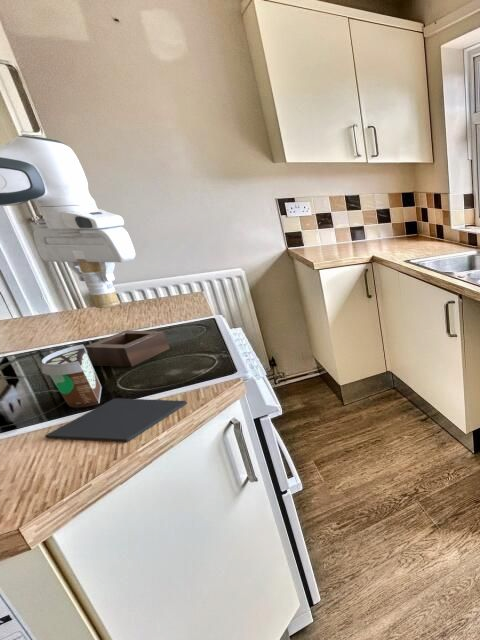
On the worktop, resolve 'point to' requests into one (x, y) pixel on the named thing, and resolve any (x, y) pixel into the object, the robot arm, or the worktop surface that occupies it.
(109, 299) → the sprinkles bottle
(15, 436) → the worktop surface
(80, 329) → the worktop surface
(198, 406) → the worktop surface
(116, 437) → the rubber mat
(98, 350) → the box
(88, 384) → the food container
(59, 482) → the worktop surface
